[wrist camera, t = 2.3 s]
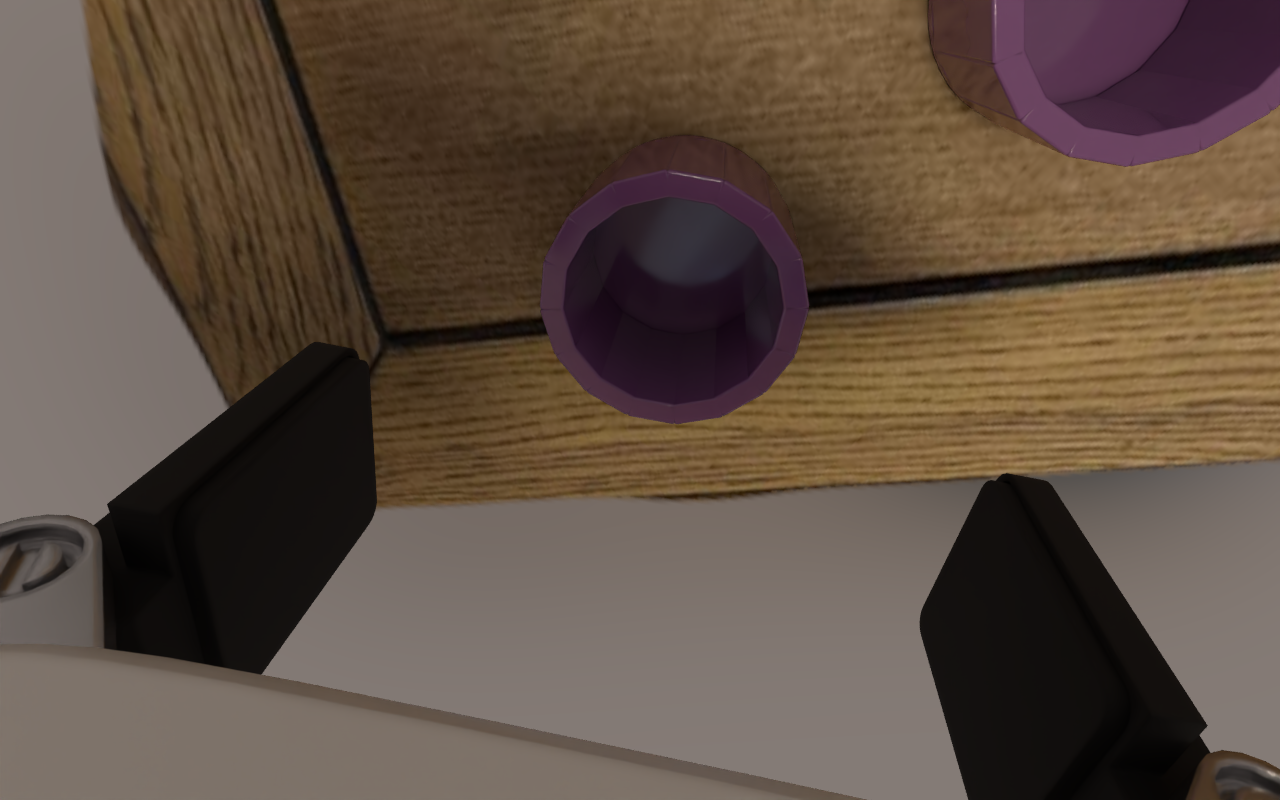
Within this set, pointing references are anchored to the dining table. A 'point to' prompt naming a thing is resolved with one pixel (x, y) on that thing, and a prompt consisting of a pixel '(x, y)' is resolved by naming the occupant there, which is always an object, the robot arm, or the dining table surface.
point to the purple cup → (676, 282)
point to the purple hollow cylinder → (1112, 71)
